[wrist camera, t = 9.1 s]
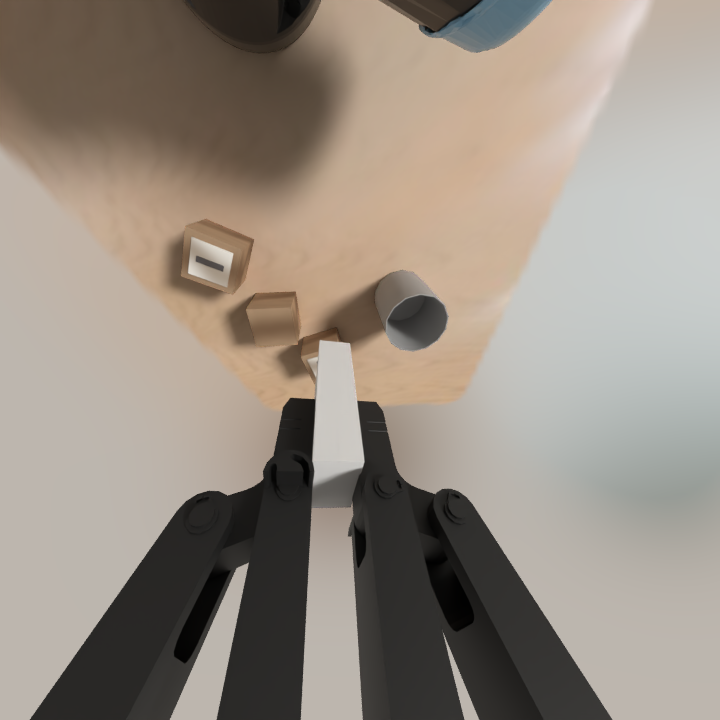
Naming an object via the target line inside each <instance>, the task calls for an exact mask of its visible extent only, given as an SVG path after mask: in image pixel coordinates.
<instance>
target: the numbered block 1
mask: <svg viewBox="0 0 720 720" xmlns="http://www.w3.org/2000/svg"><path fill="white" fill-rule="evenodd" d="M253 242H254V239H251V238H249V237H247V236H244V235H242V234H240V233H237V232H235V231H233V230H231V229H228V228H226V227H224V226H221V225H219V224H217V223H214V222H212V221H210V220H207V219H204V220H201V221H199V222H196V223H193V224H190V225H187V226H185V232H184V244H183V256H182V268H181V276H182V277H184V278H187V279H190V280H193V281H196V282H198V283H201V284H204V285H207V286H210V287H213V288H215V289H218V290H221V291H224V292H227V293H229V294H232V295H233V294H234V293H235V292H236V290H237V289H238V288H239V287H240V285H241V284H242V283H243V282H244V281H245V278H246V274H247V269H248V265H249V260H250V256H251V251H252V247H253Z"/></svg>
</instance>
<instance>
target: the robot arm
mask: <svg viewBox="0 0 720 720" xmlns="http://www.w3.org/2000/svg"><path fill="white" fill-rule="evenodd" d="M379 1H381V2H382V3H384V4H386V5H387V6H389V7H391V8H392V9H394V10H396V11H397V12H399V13H401V14H402V15H404V16H406V17H407V18H409V19H411V20H412V21H414V22H416V23H417V24H419V29H420V30H421V32H423V33H424V34H425V35H427V36H428V37H432V38H434V37H435V38H443V39H445V40H447V41H449V42H451V43H453V44H455V45H457V46H459V47H461V48H463V49H465V50H467V51H470V52H476V53H477V52H481V51H485V50H490V49H495V48H497V47H499V46H501V45H502V44H504V43H506V42H507V41H509V40H510V39H511V38H513V37H514V36H516V35H517V34H518V33H519V32H521V31H522V30H523V29H524V28H525V27H526V26H527V25H529V24H530V23H531V22H532V21H533V20H534V19H535V18H536V17H537V16H538V15H539V14H540V13H541V12H542V11H543V10H544V9H545V8H546V7H547V6H548V5H549V3H550V2H551V1H552V0H379ZM184 2H185V3H186V4H187V5H188V7H189V8H190V9H191V10H192V11H193V13H194V14H195V15H196V16H197V17H198V18H199V19H200V20H201V21H202V23H204V24H205V25H206V26H207V27H208V28H209V29H210V30H211V31H212V32H213V33H215V34H216V35H217V36H219V37H220V38H221V39H223V40H224V41H226V42H228V43H229V44H231V45H233V46H235V47H238V48H240V49H243V50H246V51H250V52H257V53H267V52H273V51H277V50H280V49H282V48H284V47H286V46H288V45H289V44H291V43H292V42H294V41H295V40H296V39H297V38H298V37H299V36H300V35H301V34H302V33H303V32H304V31H305V29H306V28H307V27H308V25H309V24H310V22H311V21H312V19H313V17H314V15H315V13H316V11H317V9H318V7H319V4H320V2H321V0H184ZM263 477H264V479H263V480H262V481H261V482H260V483H258V484H257V485H255V486H254V487H252V488H249V489H247V490H244V491H241V492H238V493H235V494H232V495H228V496H227V495H225V494H223V493H221V492H219V491H207V492H203V493H200V494H197V495H195V496H194V497H192V498H191V499H189V500H188V501H186V502H185V503H184V504H183V505H182V506H181V507H180V508H179V510H178V511H177V512H176V513H175V515H174V516H173V517H172V519H171V520H170V522H169V523H168V525H167V526H166V527H165V529H164V530H163V532H162V533H161V534H160V536H159V537H158V539H157V540H156V542H155V543H154V545H153V546H152V547H151V549H150V550H149V552H148V553H147V554H146V556H145V557H144V559H143V560H142V562H141V563H140V564H139V566H138V567H137V569H136V570H135V571H134V573H133V574H132V576H131V577H130V578H129V580H128V581H127V583H126V584H125V586H124V587H123V588H122V590H121V591H120V593H119V594H118V596H117V597H116V598H115V600H114V601H113V603H112V604H111V605H110V607H109V608H108V610H107V611H106V613H105V614H104V615H103V617H102V618H101V620H100V621H99V622H98V624H97V625H96V627H95V628H94V629H93V631H92V632H91V634H90V635H89V637H88V638H87V639H86V641H85V642H84V644H83V645H82V647H81V648H80V649H79V651H78V652H77V654H76V655H75V657H74V658H73V659H72V661H71V662H70V664H69V665H68V666H67V668H66V669H65V671H64V672H63V673H62V675H61V677H60V678H59V679H58V681H57V682H56V683H55V685H54V686H53V688H52V689H51V690H50V692H49V693H48V695H47V696H46V698H45V699H44V700H43V702H42V703H41V705H40V706H39V707H38V709H37V710H36V712H35V713H34V715H33V716H32V717H31V719H30V720H170V718H171V715H172V713H173V710H174V708H175V706H176V704H177V702H178V700H179V697H180V695H181V693H182V690H183V688H184V686H185V684H186V681H187V679H188V677H189V675H190V672H191V670H192V668H193V665H194V663H195V661H196V659H197V656H198V654H199V652H200V650H201V647H202V645H203V643H204V640H205V638H206V636H207V634H208V631H209V629H210V627H211V625H212V622H213V620H214V618H215V615H216V613H217V611H218V609H219V606H220V604H221V602H222V600H223V597H224V595H225V593H226V591H227V588H228V586H229V583H230V581H231V579H232V577H233V575H234V572H235V570H236V568H237V567H240V566H242V565H244V564H247V563H249V565H248V570H247V575H246V580H245V585H244V589H243V594H242V599H241V604H240V609H239V614H238V618H237V624H236V628H235V633H234V638H233V643H232V648H231V652H230V657H229V662H228V667H227V672H226V677H225V682H224V687H223V692H222V697H221V701H220V706H219V711H218V716H217V720H301V701H302V682H303V663H304V642H305V623H306V603H307V584H308V565H309V546H310V526H311V508H334V507H351V504H352V501H353V514H354V515H353V518H352V522H351V524H350V527H349V532H348V536H351V535H352V545H353V563H354V578H355V594H356V595H355V596H356V612H357V629H358V646H359V663H360V679H361V695H362V711H363V720H464V717H463V712H462V709H461V704H460V700H459V696H458V692H457V688H456V684H455V680H454V676H453V672H452V668H451V664H450V660H449V656H448V652H447V648H446V644H445V640H444V636H443V633H444V635H445V637H446V640H447V642H448V645H449V647H450V650H451V652H452V654H453V657H454V660H455V662H456V664H457V667H458V669H459V672H460V674H461V676H462V679H463V681H464V684H465V686H466V689H467V691H468V693H469V696H470V698H471V701H472V703H473V706H474V708H475V710H476V713H477V715H478V717H479V720H612V718H611V717H610V715H609V714H608V712H607V711H606V709H605V708H604V706H603V705H602V703H601V702H600V700H599V698H598V697H597V695H596V694H595V692H594V691H593V689H592V688H591V686H590V685H589V683H588V681H587V680H586V678H585V677H584V676H583V674H582V672H581V671H580V669H579V668H578V666H577V665H576V663H575V662H574V660H573V659H572V657H571V655H570V654H569V653H568V651H567V649H566V648H565V646H564V645H563V643H562V641H561V640H560V638H559V637H558V635H557V634H556V632H555V631H554V629H553V628H552V626H551V625H550V623H549V621H548V620H547V618H546V617H545V615H544V614H543V612H542V611H541V609H540V608H539V606H538V604H537V603H536V602H535V600H534V598H533V597H532V595H531V594H530V593H529V591H528V589H527V588H526V586H525V585H524V583H523V581H522V580H521V578H520V577H519V575H518V574H517V572H516V571H515V569H514V568H513V566H512V564H511V563H510V561H509V560H508V559H507V557H506V555H505V554H504V552H503V551H502V549H501V548H500V546H499V544H498V543H497V541H496V540H495V538H494V537H493V535H492V534H491V532H490V531H489V529H488V527H487V526H486V524H485V523H484V521H483V520H482V518H481V517H480V515H479V514H478V512H477V511H476V509H475V507H474V506H473V504H472V503H471V502H470V501H469V500H468V499H467V497H465V496H464V495H462V494H461V493H460V492H458V491H456V490H453V489H442V490H440V491H439V492H437V493H436V494H433V493H430V492H427V491H424V490H421V489H418V488H416V487H414V486H411V485H410V484H409V483H407V482H406V481H405V480H404V479H403V478H402V477H401V476H400V475H399V473H398V471H397V469H396V466H395V462H394V458H393V453H392V449H391V444H390V440H389V436H388V433H387V427H386V424H385V418H384V414H383V411H382V409H381V408H380V407H379V405H378V404H377V402H367V401H357V396H356V388H355V380H354V372H353V364H352V356H351V348H350V343H343V342H333V341H323V340H320V342H319V353H318V363H317V373H316V384H315V399H301V398H290V399H289V401H288V402H287V403H286V404H285V406H284V407H283V411H282V416H281V421H280V426H279V432H278V436H277V441H276V446H275V451H274V456H273V457H272V458H271V459H270V460H269V461H268V462H267V464H266V466H265V468H264V470H263ZM442 630H443V631H442Z"/></svg>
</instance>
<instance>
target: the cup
mask: <svg viewBox="0 0 720 720" xmlns="http://www.w3.org/2000/svg"><path fill="white" fill-rule="evenodd" d="M375 305H376V307H377V310H378V313H379V316H380V318H381V321H382V324H383V327H384V330H385V332H386V334H387V336H388V338H389V340H390V342H391V344H393V345H394V346H396V347H397V348H399V349H400V350H406V351H417V350H421V349H425V348H428V347H429V346H430V345H432V344H433V343H435V342H436V341H438V340H439V338H440V337H441V336H442V334H443V333H444V331H445V330H446V327H447V322H448V317H449V316H448V313H447V310H446V307H445V304H444V303H443V302H442V301H441V300H440V299H439V298H438V297H437V295H436V294H435V293H434V292H433V291H432V290H431V289H430V288H429V287H428V285H427V284H426V283H425V282H424V281H423V280H422V279H421V278H420V277H419V276H418V275H416V274H415V273H414V272H411V271H406V270H400V271H396V272H392V273H390V274H388V275H387V276H386V277H385V278H384V279H382V280H381V281H380V283H379V285H378V287H377V289H376V291H375Z"/></svg>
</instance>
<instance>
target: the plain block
mask: <svg viewBox="0 0 720 720" xmlns="http://www.w3.org/2000/svg"><path fill="white" fill-rule="evenodd" d="M246 312H247V316H248V319H249V323H250V326H251V330H252V333H253V337H254V340H255V344H256V347H266V346H284V345H298V339H299V334H300V329H301V323H300V317H299V310H298V304H297V297H296V292H275V293H256V294H255V296H254V297H253V299H252V300H251V302H250V304H249V305H248V307H247V308H246Z"/></svg>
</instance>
